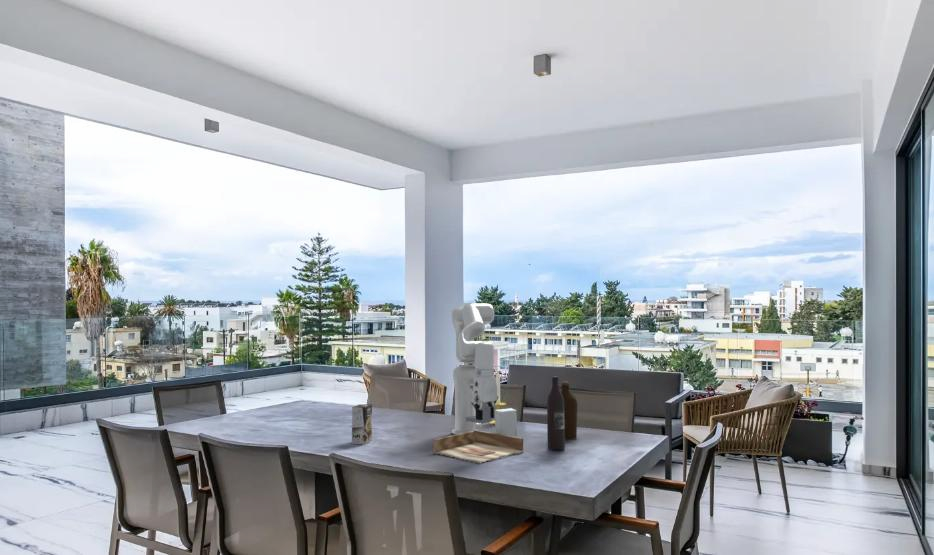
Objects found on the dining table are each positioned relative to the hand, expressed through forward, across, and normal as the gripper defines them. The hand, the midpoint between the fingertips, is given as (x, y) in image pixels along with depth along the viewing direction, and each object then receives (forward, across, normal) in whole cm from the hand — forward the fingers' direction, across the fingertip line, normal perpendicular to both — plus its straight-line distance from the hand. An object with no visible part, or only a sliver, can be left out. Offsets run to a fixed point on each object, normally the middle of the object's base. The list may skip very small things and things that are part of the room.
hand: (484, 418), depth 253 cm
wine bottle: (+15, +28, -14) cm, 35 cm away
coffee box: (+15, -17, +58) cm, 62 cm away
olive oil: (+15, +51, -3) cm, 53 cm away
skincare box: (+15, +22, +8) cm, 28 cm away
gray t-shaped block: (+2, 0, +4) cm, 4 cm away
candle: (+14, +58, +43) cm, 74 cm away
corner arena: (+15, +2, +6) cm, 16 cm away
